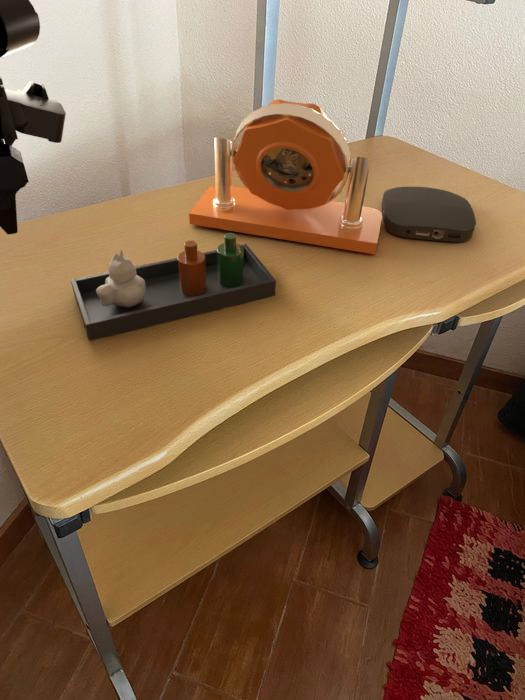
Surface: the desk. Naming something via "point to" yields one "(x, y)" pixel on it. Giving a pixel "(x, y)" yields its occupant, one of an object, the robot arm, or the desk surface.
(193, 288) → the amber bottle
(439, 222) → the media streaming box
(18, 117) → the robot arm
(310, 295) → the desk surface
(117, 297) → the white rounded lumpy piece
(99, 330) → the tray
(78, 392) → the desk surface
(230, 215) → the desk clock
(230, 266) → the green bottle
